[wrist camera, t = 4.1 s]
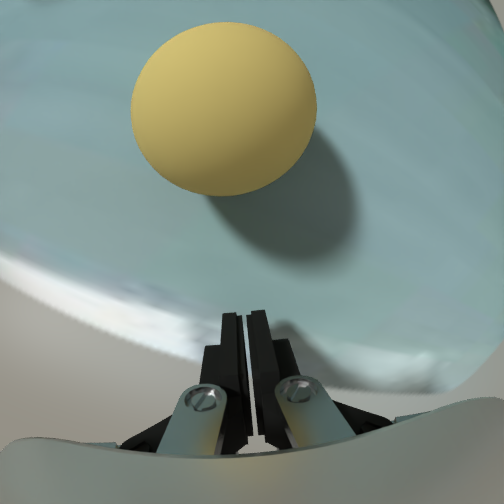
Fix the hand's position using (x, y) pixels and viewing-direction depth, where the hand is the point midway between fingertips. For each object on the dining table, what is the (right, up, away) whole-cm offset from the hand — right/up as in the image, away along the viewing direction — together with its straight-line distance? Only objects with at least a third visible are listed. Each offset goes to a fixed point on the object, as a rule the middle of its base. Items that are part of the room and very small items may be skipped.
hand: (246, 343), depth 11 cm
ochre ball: (-1, +8, -3) cm, 9 cm away
